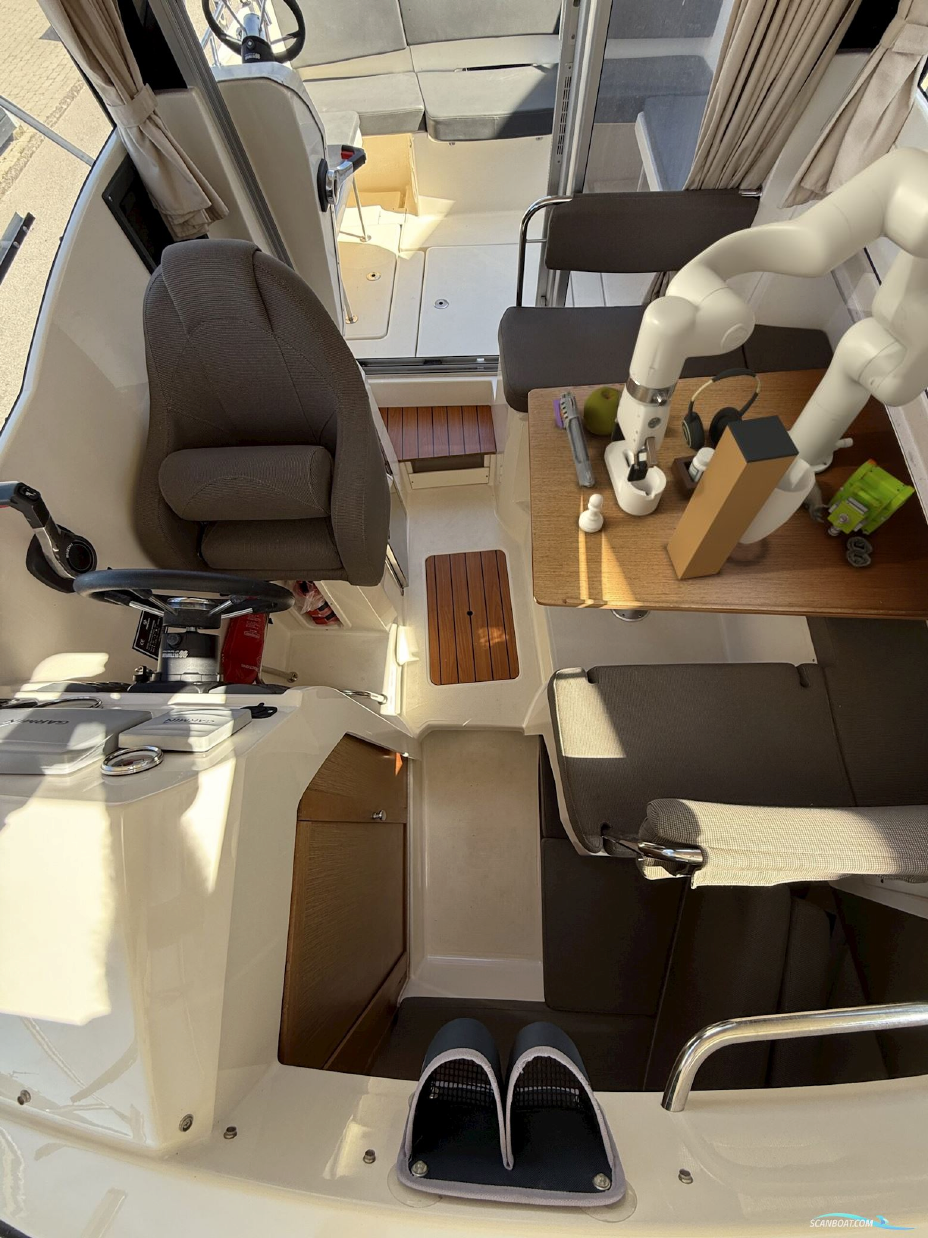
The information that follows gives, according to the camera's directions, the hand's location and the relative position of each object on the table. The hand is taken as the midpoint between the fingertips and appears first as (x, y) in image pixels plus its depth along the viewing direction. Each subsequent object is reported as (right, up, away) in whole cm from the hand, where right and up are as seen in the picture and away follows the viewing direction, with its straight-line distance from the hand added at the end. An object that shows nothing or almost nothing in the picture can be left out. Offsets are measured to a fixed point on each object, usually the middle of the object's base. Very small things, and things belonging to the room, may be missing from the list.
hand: (627, 459), depth 104 cm
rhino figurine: (+43, -5, +19) cm, 48 cm away
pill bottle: (+22, +2, +24) cm, 32 cm away
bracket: (+8, +2, +25) cm, 26 cm away
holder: (+22, +2, +24) cm, 32 cm away
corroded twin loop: (+51, -16, +14) cm, 55 cm away
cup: (+28, -13, +16) cm, 35 cm away
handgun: (-4, +12, +34) cm, 36 cm away
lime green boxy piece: (+55, -3, +12) cm, 56 cm away
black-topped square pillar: (+17, -17, +14) cm, 28 cm away
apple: (+3, +16, +32) cm, 36 cm away
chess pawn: (-2, -9, +20) cm, 21 cm away
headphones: (+26, +12, +29) cm, 41 cm away
